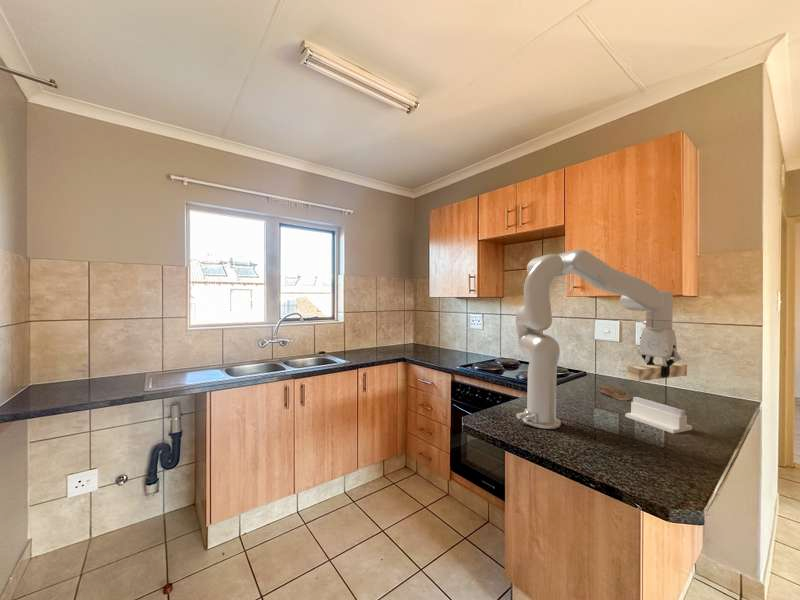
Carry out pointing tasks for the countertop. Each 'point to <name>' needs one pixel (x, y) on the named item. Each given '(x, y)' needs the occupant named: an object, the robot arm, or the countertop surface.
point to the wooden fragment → (614, 393)
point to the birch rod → (655, 371)
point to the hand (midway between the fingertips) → (657, 374)
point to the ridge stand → (658, 415)
